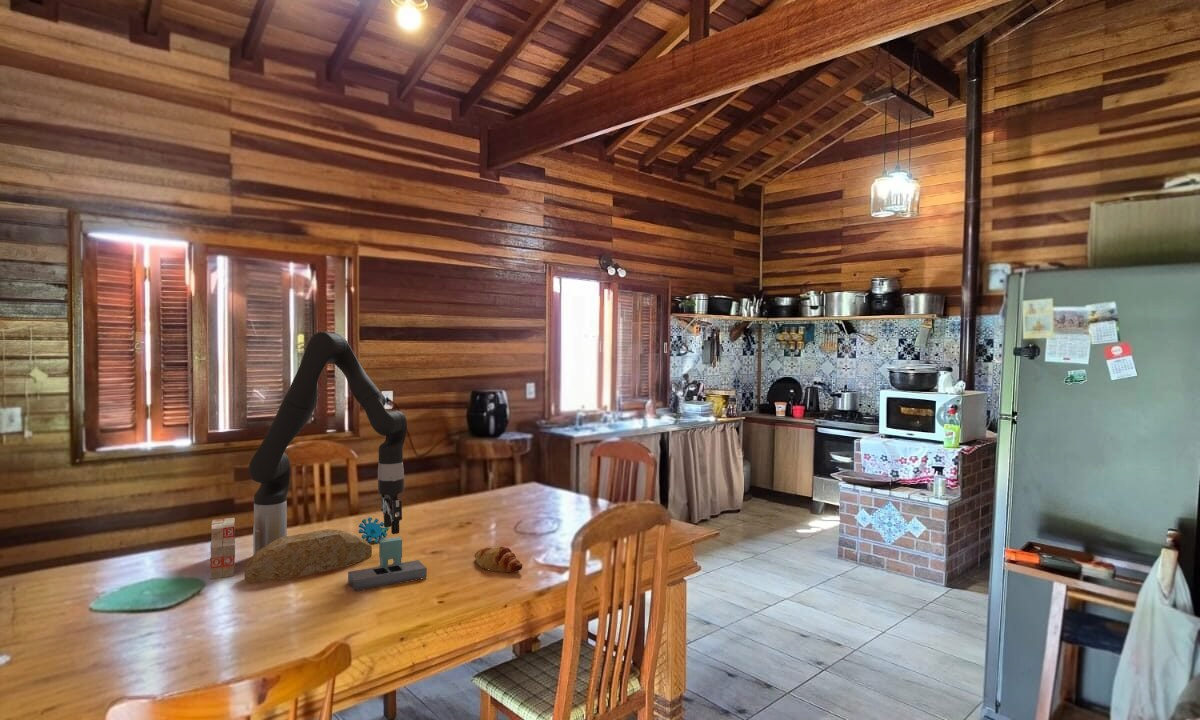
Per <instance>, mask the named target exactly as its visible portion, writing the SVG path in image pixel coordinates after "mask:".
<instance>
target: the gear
mask: <svg viewBox="0 0 1200 720" xmlns="http://www.w3.org/2000/svg"><path fill="white" fill-rule="evenodd" d="M372 520H373V517H369V516H368V518H367V519H366V518H364V519H362V520H361V522H360V524H358V528H359V529H358V534H362V535H361V538H362V539H364V540H366V539H368V540H366V541H367V542H368V543H369V544H371V543H372V541H373V539H375V540H374V541H373V543H374V544H375V543H377V544H378V543H379V540H381V539H386V537H387V536H388V533H387V532H388V531H389V529H391V527H384V521H381V522H380V523H378V522H379V520H380V519H378V518H375V519H374V520H373V521H372ZM367 522H368V523H367Z"/></svg>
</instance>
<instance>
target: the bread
mask: <svg viewBox="0 0 1200 720" xmlns="http://www.w3.org/2000/svg"><path fill="white" fill-rule="evenodd" d="M372 551H373V546H372V545H371V543H369V542H367V540H366V539H363V538H362V537H360V536H357V535H355V534H352V533H350V532H347V531H344V530H341V529H331V528H325V529H321V530H315V531H309V532H304V533H299V534H294V535H287V537H281V538H278V539H277V540H275V541H273V542H272V543H270V544H268V545H266V546H265V547H263V548H262V549H260V550H259V551H257V552H256V553H255V554H254V555H253V554H252V556H251V557H250V558H249V560H248V562H247V564H246V565H245V567H244V581H245V583H247V584H262V583H264V584H265V583H273V582H272V581H274V582H282V581H281V580H283V581H287V580H291V579H290V578H292V579H295V577H296V578H299V577H298V576H300V577H305V576H308V575H313V574H317V573H322V571H323V572H326V570H327V571H330V569H332V570H335V569H334V568H336V569H339V568H338V567H341V568H343V567H342V566H345V567H348V566H347V565H349V566H351V565H350V564H352V565H354V563H355V564H357V562H358V563H360V561H361V562H364V561H365V559H366V560H367V558H368V559H369V557H370V558H372V557H373V555H372V553H373V552H372ZM371 556H372V557H371ZM304 575H305V576H304ZM286 579H287V580H286Z"/></svg>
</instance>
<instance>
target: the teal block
mask: <svg viewBox="0 0 1200 720" xmlns="http://www.w3.org/2000/svg"><path fill="white" fill-rule="evenodd" d="M378 541H379V542H378V543H379V544H378V545H379V547H378V550H379V552H378V556H379V557H378V558H379V567H380V566H386V565H389V560H392V561H393V562H392V564H398V563H402V558H403V539H402V538H401V537H400V536H396V537H395V536H394V537H389V538H384V539H381V540H380V539H378Z"/></svg>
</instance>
